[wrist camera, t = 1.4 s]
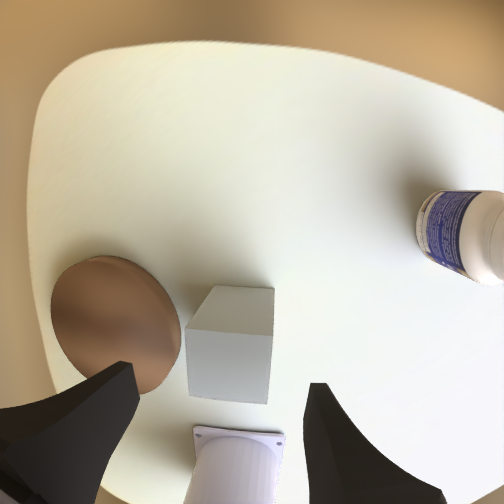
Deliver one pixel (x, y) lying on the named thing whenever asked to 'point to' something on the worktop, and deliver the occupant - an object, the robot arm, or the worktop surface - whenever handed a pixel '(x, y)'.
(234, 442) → the robot arm
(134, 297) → the plinth
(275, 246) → the worktop surface
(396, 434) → the worktop surface
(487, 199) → the pill bottle
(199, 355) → the block
